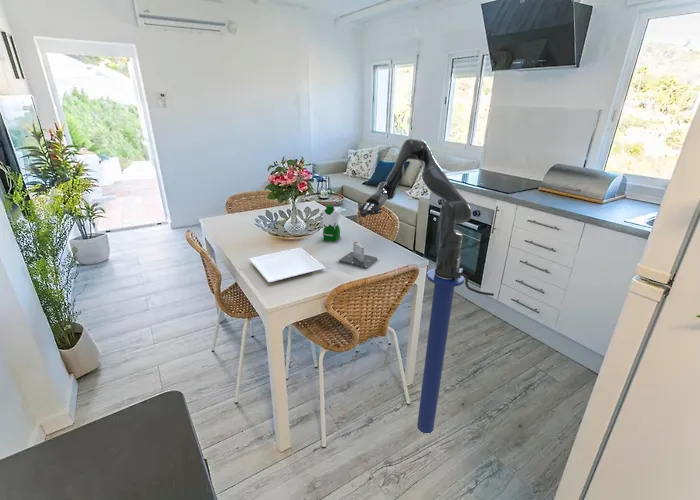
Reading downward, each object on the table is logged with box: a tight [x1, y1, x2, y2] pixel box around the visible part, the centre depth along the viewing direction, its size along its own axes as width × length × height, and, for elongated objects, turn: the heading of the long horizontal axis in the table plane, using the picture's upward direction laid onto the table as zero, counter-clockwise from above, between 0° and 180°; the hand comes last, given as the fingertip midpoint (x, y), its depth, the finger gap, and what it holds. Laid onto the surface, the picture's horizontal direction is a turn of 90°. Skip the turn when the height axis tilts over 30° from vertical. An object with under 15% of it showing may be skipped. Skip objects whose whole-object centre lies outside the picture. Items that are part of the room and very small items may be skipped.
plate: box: [248, 247, 326, 283], centre depth 157 cm, size 26×26×2 cm
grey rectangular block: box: [352, 241, 365, 262], centre depth 163 cm, size 8×2×7 cm, turn 26°
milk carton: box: [321, 204, 342, 243], centre depth 187 cm, size 9×9×20 cm
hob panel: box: [338, 251, 378, 270], centre depth 164 cm, size 14×12×2 cm
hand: (362, 215), depth 164 cm, fingers closed
